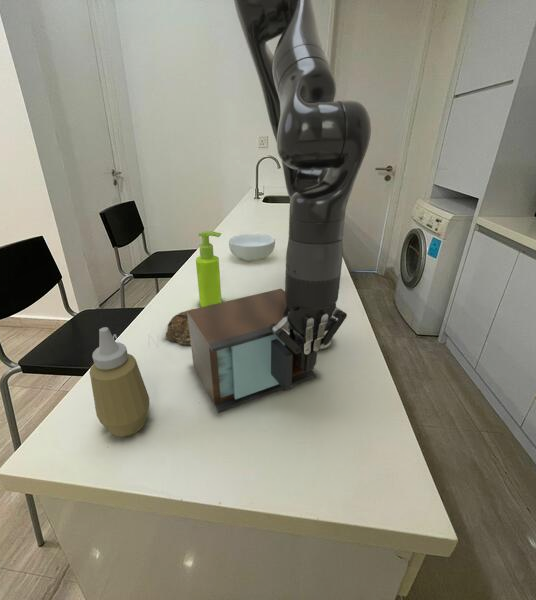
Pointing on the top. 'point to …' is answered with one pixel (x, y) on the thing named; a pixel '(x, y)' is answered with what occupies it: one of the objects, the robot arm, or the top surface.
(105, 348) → the squeeze bottle
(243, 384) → the glass door
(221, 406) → the display cabinet
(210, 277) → the soap dispenser
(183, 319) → the bread roll
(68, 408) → the top surface
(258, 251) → the cereal bowl
